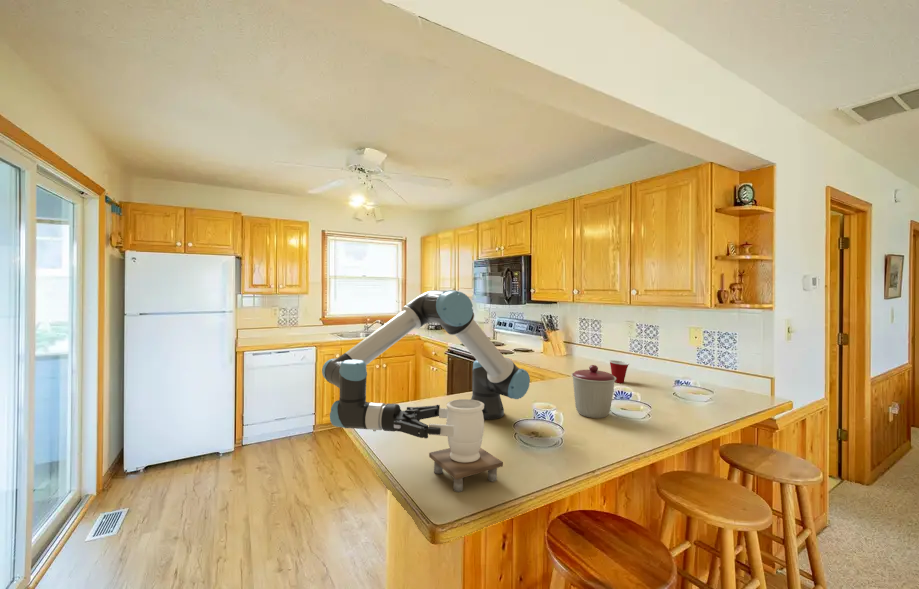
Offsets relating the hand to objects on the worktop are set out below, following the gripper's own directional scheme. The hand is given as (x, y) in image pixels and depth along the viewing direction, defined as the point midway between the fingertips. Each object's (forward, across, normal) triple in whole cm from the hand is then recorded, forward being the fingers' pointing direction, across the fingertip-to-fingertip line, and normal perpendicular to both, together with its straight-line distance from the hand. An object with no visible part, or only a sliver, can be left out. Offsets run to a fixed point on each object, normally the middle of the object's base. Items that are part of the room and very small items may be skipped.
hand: (457, 422), depth 108 cm
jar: (+2, 0, -10) cm, 10 cm away
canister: (+49, -63, -15) cm, 81 cm away
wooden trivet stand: (+2, 0, -15) cm, 15 cm away
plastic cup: (+76, -127, -15) cm, 148 cm away
